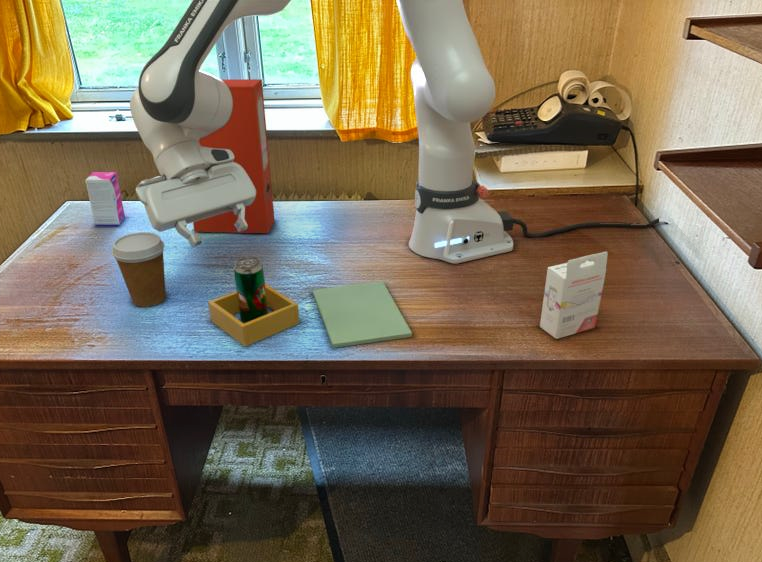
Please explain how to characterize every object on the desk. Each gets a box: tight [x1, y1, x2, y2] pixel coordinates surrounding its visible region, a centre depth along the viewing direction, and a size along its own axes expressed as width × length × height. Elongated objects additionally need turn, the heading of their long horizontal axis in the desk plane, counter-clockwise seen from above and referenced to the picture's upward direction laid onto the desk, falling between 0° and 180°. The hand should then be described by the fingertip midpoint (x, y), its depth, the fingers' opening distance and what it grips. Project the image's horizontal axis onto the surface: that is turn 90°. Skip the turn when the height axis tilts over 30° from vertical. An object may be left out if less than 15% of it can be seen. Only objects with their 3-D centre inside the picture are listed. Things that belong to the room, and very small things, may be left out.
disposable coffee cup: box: [110, 231, 167, 308], centre depth 127 cm, size 10×10×12 cm
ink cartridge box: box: [539, 251, 609, 340], centre depth 114 cm, size 9×5×15 cm, turn 114°
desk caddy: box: [207, 283, 301, 348], centre depth 121 cm, size 12×12×4 cm
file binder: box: [192, 78, 275, 234], centre depth 150 cm, size 8×17×32 cm, turn 84°
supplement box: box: [84, 171, 126, 228], centre depth 160 cm, size 6×6×12 cm
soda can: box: [233, 256, 269, 323], centre depth 119 cm, size 5×5×12 cm
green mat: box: [312, 280, 413, 349], centre depth 124 cm, size 14×20×1 cm
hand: (221, 237), depth 120 cm, fingers open, 8 cm apart
